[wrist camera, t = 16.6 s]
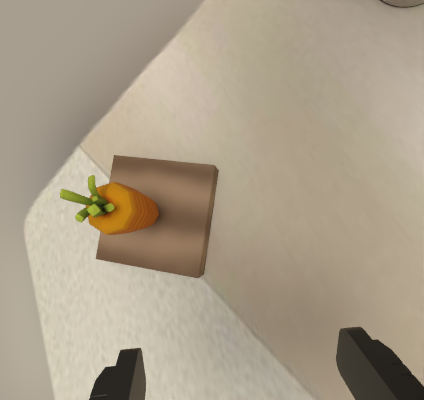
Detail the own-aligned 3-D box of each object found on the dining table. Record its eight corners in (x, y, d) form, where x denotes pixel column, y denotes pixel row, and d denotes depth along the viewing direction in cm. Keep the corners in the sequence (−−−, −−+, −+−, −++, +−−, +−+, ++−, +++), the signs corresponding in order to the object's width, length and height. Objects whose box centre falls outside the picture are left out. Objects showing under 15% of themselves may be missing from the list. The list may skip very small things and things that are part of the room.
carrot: (130, 211, 36) (36, 198, 21) (159, 186, 36) (83, 157, 21) (151, 241, 35) (68, 250, 20) (181, 217, 35) (118, 208, 20)
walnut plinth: (125, 160, 40) (114, 155, 37) (218, 170, 37) (214, 165, 34) (108, 256, 39) (95, 258, 36) (203, 274, 36) (198, 278, 33)
